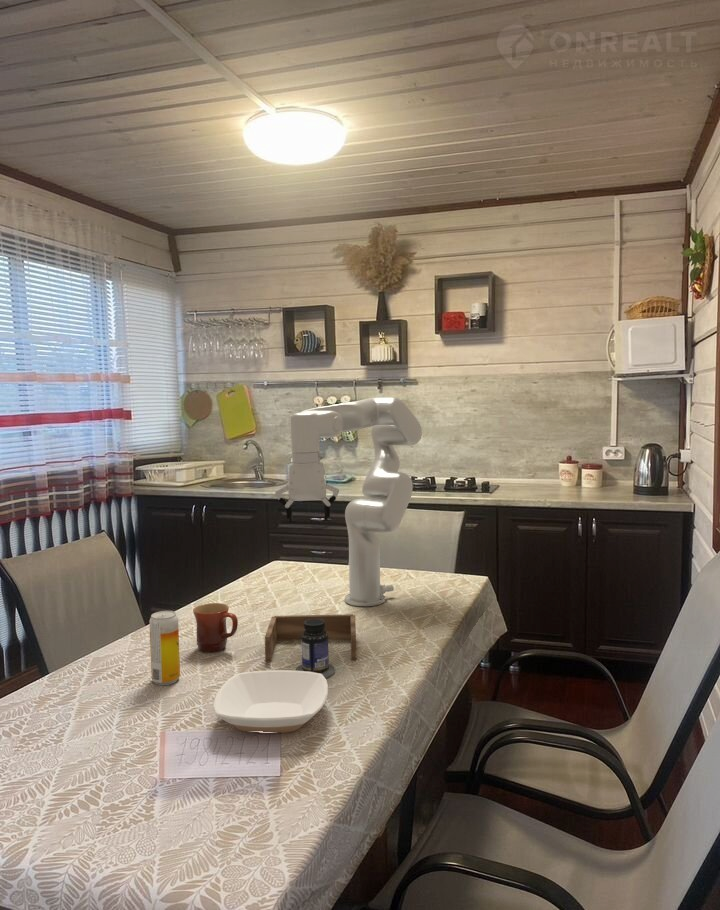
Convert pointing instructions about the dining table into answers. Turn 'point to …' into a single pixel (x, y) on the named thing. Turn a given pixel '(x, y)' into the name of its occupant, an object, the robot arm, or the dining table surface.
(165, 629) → the beer can
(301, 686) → the bowl
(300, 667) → the slate coaster
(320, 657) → the pill bottle
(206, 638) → the mug
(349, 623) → the u-shaped wooden arch
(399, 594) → the dining table surface
